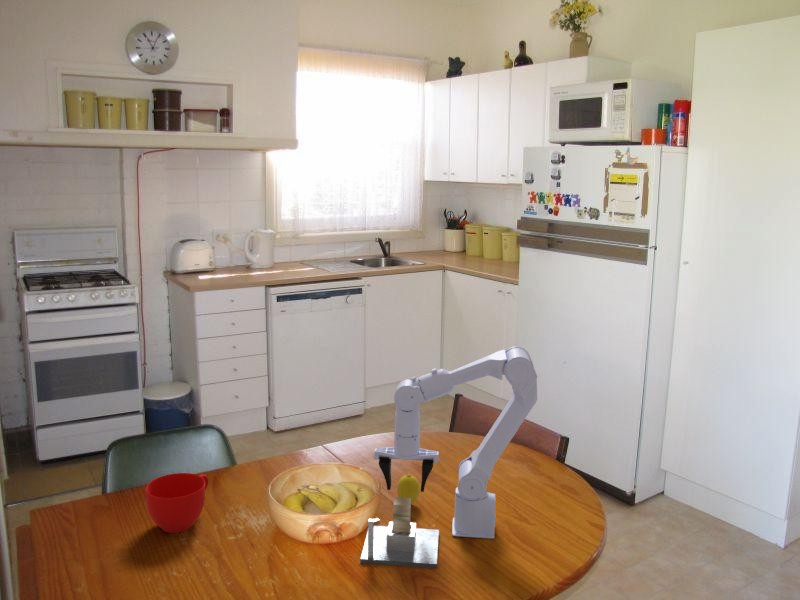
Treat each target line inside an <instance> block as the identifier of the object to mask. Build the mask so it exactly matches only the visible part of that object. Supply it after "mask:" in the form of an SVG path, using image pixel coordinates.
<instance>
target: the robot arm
mask: <svg viewBox="0 0 800 600" xmlns="http://www.w3.org/2000/svg"><path fill="white" fill-rule="evenodd" d="M489 376H490V377H492V378H494V379H497V380H501V381H503V376H505V379H506V381H508V383H509V384H510V385H511V387H512V391H513V394H512V396H511V397H510V399H509V400H508V402H507V404H506V405H505V406H504V408H503V409H502V411H501V412H500V414H499V416H497V419H496V420H495V421H494V423H493V425H492V426H491V428H490V429H489V431H488V432H487V434H486V435H485V437H484V438H483V440H482V441H481V443H480V445H478V448H477V449H475V450H473V451H472V452H471V453H470V454H469V456H468V457H467V458H465V459H463V460H462V461H461V462H460V463H459V464H458V467H457V472H458V473H457V474H458V483H457V487H455V492H454V494H455V495H454V517H452V524H451V525H452V526H451V528H452V529H451V535H452V536H453V537H461V538H462V537H464V538H478V539H479V538H480V539H495V529H496V527H495V526H496V525H497V518H496V513H497V511H496V508H497V507H496V505H497V503H496V500H497V499H496V497H497V496H496V493H492V492H488V490H487V485H488V481H489V480H490V479H491V476H492V473H493V470H494V468H495V464H496V463H497V462H498V460H499V458H500V457H501V456H502V454H503V453H504V451H505V449H506V448H507V446H508V444H509V443H510V442H511V441H512V439H513V438H514V437H515V434H516V433H517V431H518V430H519V428H520V426H521V425H522V424H523V423H524V421H525V420H526V418H527V416H528V415H529V414H530V412H531V411H532V409H533V407H534V406H535V405H536V403H537V401H538V375H537V372H536V369H535V366H534V363H533V360H532V358H531V355H530V354H529V352H528V350H526V349H525V348H523V347H522V346H512V347H509V348H508V349H506V350H505V349H500V350H497V351H496V352H493V353H491V354H489V355H486V356H484V357H481V358H479V359H477V360H474V361H473V362H470V363H467V364H465V365H462V366H460V367H458V368H456V369H453V370H447V369H445V368H439V369H438V368H437V367H435V368H432V369H431V370H430V372H429V373H425V374H423V375H421V376H418V377H417V376H415V375H414V376H412V377H411V379H404V380H401V381H400V382H399V383H398V384H397V386H396V389H395V393H394V396H393V397H394V398H393V399H394V404H395V408H394V410H395V413H394V440H393V443H394V445H393V446H392V447H391V446H390V447H376V448H375V449H374V456H373V457H374V460H378V466H379V468H380V470H381V472H382V474H383V477H384V480H385V484H386V489H387V490H388V491H391V489H392V488H391V487H392V473H391V471H392V460H402V461H422V462H421V484H420V493H424V492H425V487H426V483H427V480H428V478H429V476H430V474H431V472H432V470H433V468H434V463H435V464H437V463H439V458H440V457H439V451H436V450H431V449H430V450H429V449H425V448H421V447H420V431H421V413H420V405H421V403H426V402H430V401H432V400H435V399H437V398H440V397H444V396H446V395H449V394H452V392H453V390H454V388H455V387H456V386H459V385H462V384H466V383H468V382H470V381H475V380H477V379H481V378H484V377H489Z"/></svg>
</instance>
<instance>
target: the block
mask: <svg viewBox="0 0 800 600" xmlns="http://www.w3.org/2000/svg"><path fill="white" fill-rule="evenodd" d="M411 504H412V503H411V498H402V497H398V496H395V497H394V499H393V504H392V505H393V506H392V507H393V510H392V511H393V512H392V522H393V531H395V532H409V530H410V523H411V516H412V515H411V514H412V513H411V511H412V507H411V506H412V505H411Z"/></svg>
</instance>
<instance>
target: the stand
mask: <svg viewBox="0 0 800 600" xmlns="http://www.w3.org/2000/svg"><path fill="white" fill-rule="evenodd" d="M367 524H368V526H367V527H368V528H367V530H366V535H365V536H366V537H365V540H364V545H363V548H362V551H361V555H360V562H359V563H360V564H366V565H367V564H369V565H380V566H381V565H383V566H399V567H412V568H413V567H414V568H426V569H437V568H438V555H439V554H438V551H439V541H440V540H439V535H440V529H433V528H429V529H428V528H417V522H410V530H409V532H395V531H393V520H392V521H389V522H388V525H387V526H384V525H379V524H381V519H379V518H378V517H376V518H368V521H367Z"/></svg>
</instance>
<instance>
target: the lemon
mask: <svg viewBox="0 0 800 600" xmlns="http://www.w3.org/2000/svg"><path fill="white" fill-rule="evenodd" d="M396 493H397V497H402V498H411V504H413V503H415V502H416V501H417V500H418V498H419V496H420V493H421V486H420V483H419V480H418V478H417V477H415V475H412V474H410V473H407V474H405V475H402V477H400V479H399V480H398V483H397V486H396Z"/></svg>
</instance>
